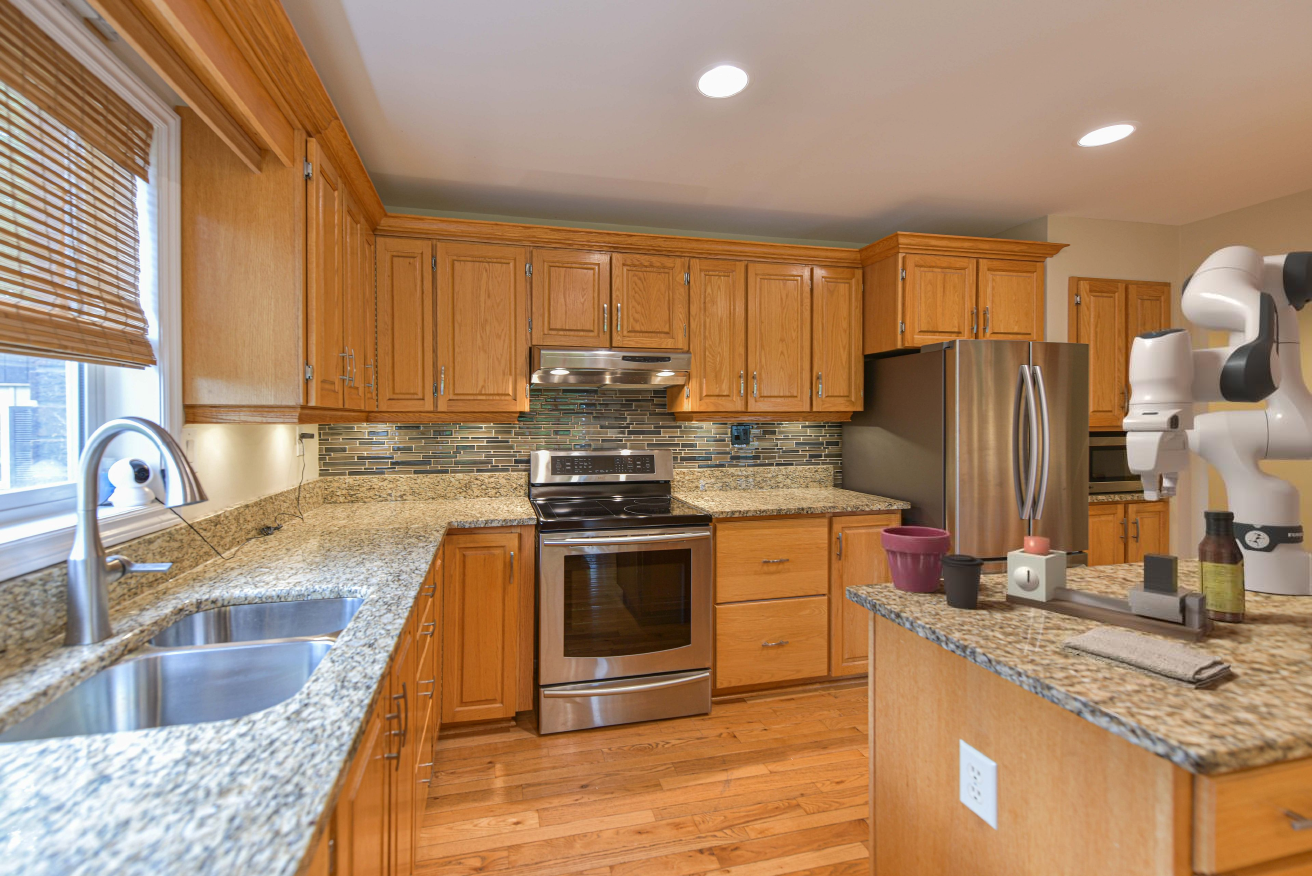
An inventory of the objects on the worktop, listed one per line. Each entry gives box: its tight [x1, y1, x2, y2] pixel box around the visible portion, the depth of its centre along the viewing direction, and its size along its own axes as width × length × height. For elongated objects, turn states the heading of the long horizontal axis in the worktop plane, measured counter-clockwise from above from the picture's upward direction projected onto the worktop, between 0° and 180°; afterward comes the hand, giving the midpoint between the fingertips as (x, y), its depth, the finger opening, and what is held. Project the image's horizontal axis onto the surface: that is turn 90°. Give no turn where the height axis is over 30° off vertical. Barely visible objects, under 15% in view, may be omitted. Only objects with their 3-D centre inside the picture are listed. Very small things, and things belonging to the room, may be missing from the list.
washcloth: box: [1060, 626, 1232, 691], centre depth 91 cm, size 12×18×3 cm, turn 29°
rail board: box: [1005, 587, 1215, 643], centre depth 113 cm, size 11×30×6 cm, turn 36°
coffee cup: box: [939, 553, 985, 610], centre depth 120 cm, size 8×8×10 cm
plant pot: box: [880, 525, 951, 594], centre depth 133 cm, size 14×14×13 cm
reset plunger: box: [1023, 535, 1051, 556], centre depth 122 cm, size 4×4×6 cm
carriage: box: [1128, 552, 1194, 623], centre depth 106 cm, size 8×7×11 cm
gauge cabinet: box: [1006, 547, 1067, 602], centre depth 122 cm, size 10×7×10 cm
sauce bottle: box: [1197, 509, 1247, 623], centre depth 110 cm, size 7×6×20 cm
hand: (1160, 498), depth 106 cm, fingers open, 8 cm apart
